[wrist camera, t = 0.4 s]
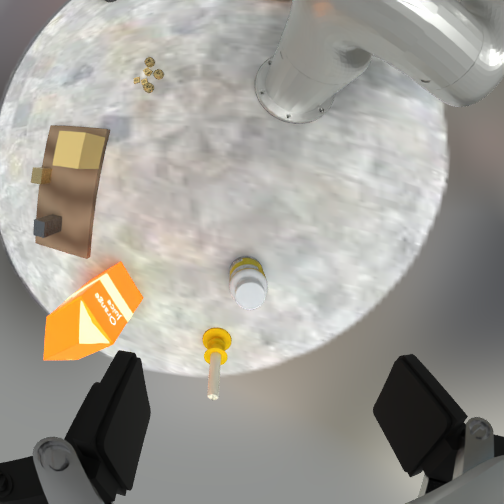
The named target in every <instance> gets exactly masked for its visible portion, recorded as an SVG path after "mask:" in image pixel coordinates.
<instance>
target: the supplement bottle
mask: <svg viewBox="0 0 504 504" xmlns="http://www.w3.org/2000/svg"><path fill="white" fill-rule="evenodd" d="M229 289H230V294H231V296H232V298H233V299H234V300H235V301H236V302H237V304H238V305H239V306H240V307H241V308H243V309H246V310H254V309H257V308H258V307H260V306H261V305H262V304H263V302H264V300H265V296H266V294H267V290H268V284H267V280H266V277H265V274H264V272H263V269H262V266H261V265H260V263H259V262H258V261H257V260H256V259H254V258H251V257H241V258H239V259H237V260H235V261H234V262H233V264H232V265H231V267H230V271H229Z"/></svg>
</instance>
